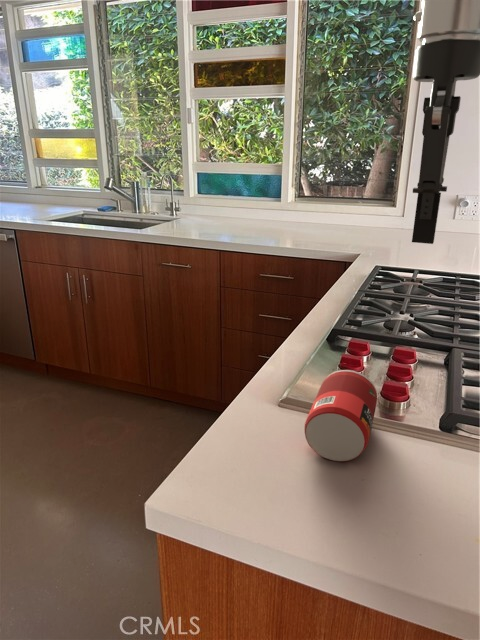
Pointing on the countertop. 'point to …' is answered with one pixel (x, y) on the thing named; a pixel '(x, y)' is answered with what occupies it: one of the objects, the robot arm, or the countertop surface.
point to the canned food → (342, 416)
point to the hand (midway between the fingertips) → (422, 241)
